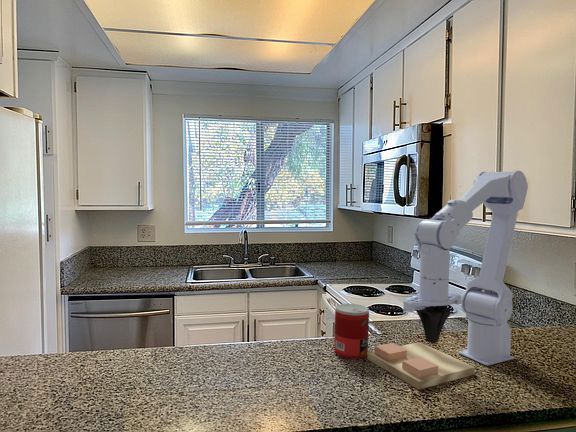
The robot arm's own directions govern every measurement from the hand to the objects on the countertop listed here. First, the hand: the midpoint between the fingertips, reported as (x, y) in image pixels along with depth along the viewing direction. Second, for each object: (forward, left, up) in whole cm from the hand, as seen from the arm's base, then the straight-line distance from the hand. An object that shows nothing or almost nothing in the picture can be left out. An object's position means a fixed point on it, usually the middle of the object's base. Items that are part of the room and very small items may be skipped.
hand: (431, 341), depth 86 cm
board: (-1, -4, -8) cm, 9 cm away
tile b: (+1, 0, -5) cm, 5 cm away
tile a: (+1, -9, -5) cm, 10 cm away
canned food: (+8, -17, -8) cm, 20 cm away
